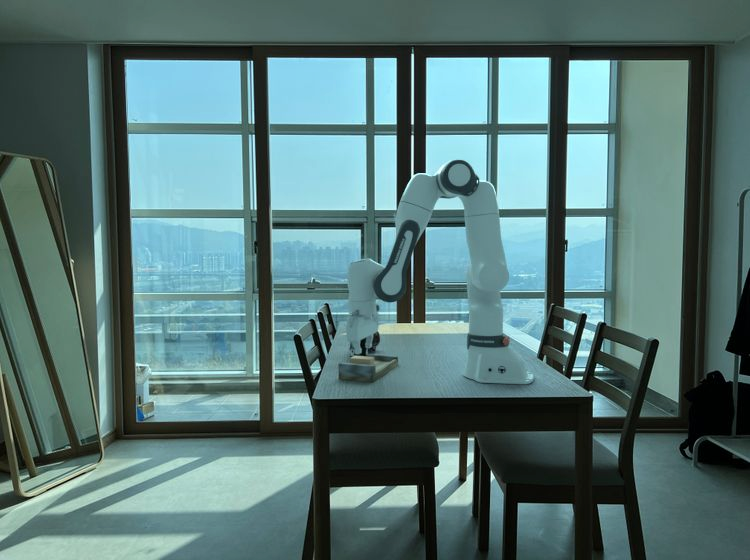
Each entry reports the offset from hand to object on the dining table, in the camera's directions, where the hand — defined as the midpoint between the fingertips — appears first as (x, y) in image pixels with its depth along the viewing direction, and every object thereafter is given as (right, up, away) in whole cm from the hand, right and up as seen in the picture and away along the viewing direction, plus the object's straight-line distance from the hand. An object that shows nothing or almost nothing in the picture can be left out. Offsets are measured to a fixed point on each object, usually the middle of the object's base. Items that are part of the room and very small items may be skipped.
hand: (363, 350), depth 170 cm
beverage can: (-2, -7, +26) cm, 27 cm away
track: (+2, -8, +8) cm, 12 cm away
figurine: (-1, -6, +38) cm, 39 cm away
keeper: (0, -7, +1) cm, 8 cm away
